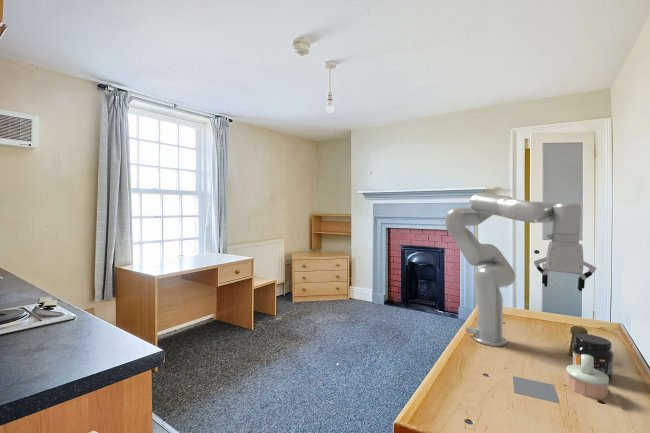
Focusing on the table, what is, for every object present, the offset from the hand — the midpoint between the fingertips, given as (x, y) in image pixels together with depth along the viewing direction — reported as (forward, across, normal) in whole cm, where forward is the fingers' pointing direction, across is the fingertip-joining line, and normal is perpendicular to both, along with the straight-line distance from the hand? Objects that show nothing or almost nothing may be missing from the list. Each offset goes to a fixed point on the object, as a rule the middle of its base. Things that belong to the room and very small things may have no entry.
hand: (562, 288), depth 112 cm
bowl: (+28, +6, -14) cm, 32 cm away
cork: (+28, +8, +15) cm, 33 cm away
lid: (+23, +6, -14) cm, 27 cm away
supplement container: (+28, +9, 0) cm, 30 cm away
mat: (+28, -8, -22) cm, 36 cm away
